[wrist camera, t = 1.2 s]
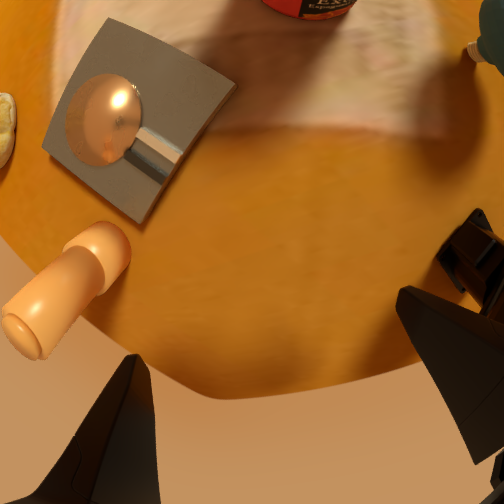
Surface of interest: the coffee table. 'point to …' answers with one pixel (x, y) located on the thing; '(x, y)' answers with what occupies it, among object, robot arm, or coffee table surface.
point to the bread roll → (6, 126)
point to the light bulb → (490, 35)
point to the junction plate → (133, 115)
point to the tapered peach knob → (65, 289)
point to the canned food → (311, 8)
